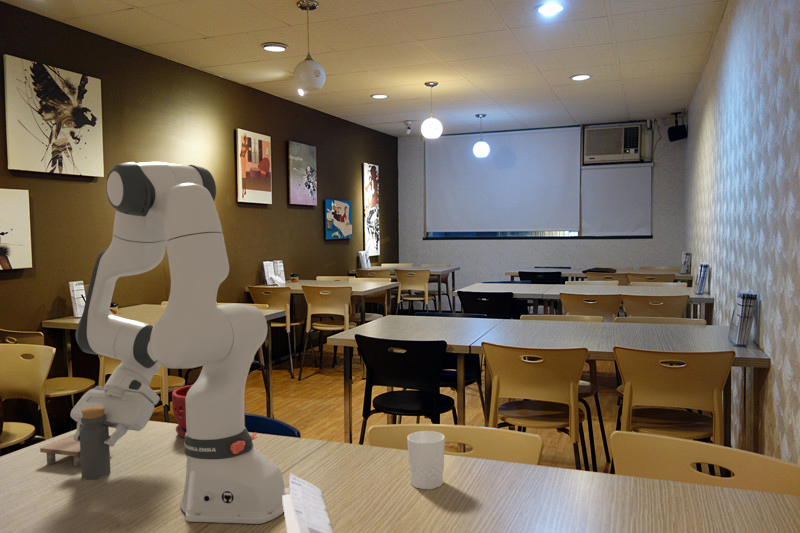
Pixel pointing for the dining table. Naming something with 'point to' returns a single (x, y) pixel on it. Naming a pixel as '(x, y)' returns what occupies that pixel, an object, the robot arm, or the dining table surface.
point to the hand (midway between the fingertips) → (92, 442)
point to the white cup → (426, 459)
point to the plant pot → (179, 412)
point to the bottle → (94, 443)
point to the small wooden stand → (63, 450)
